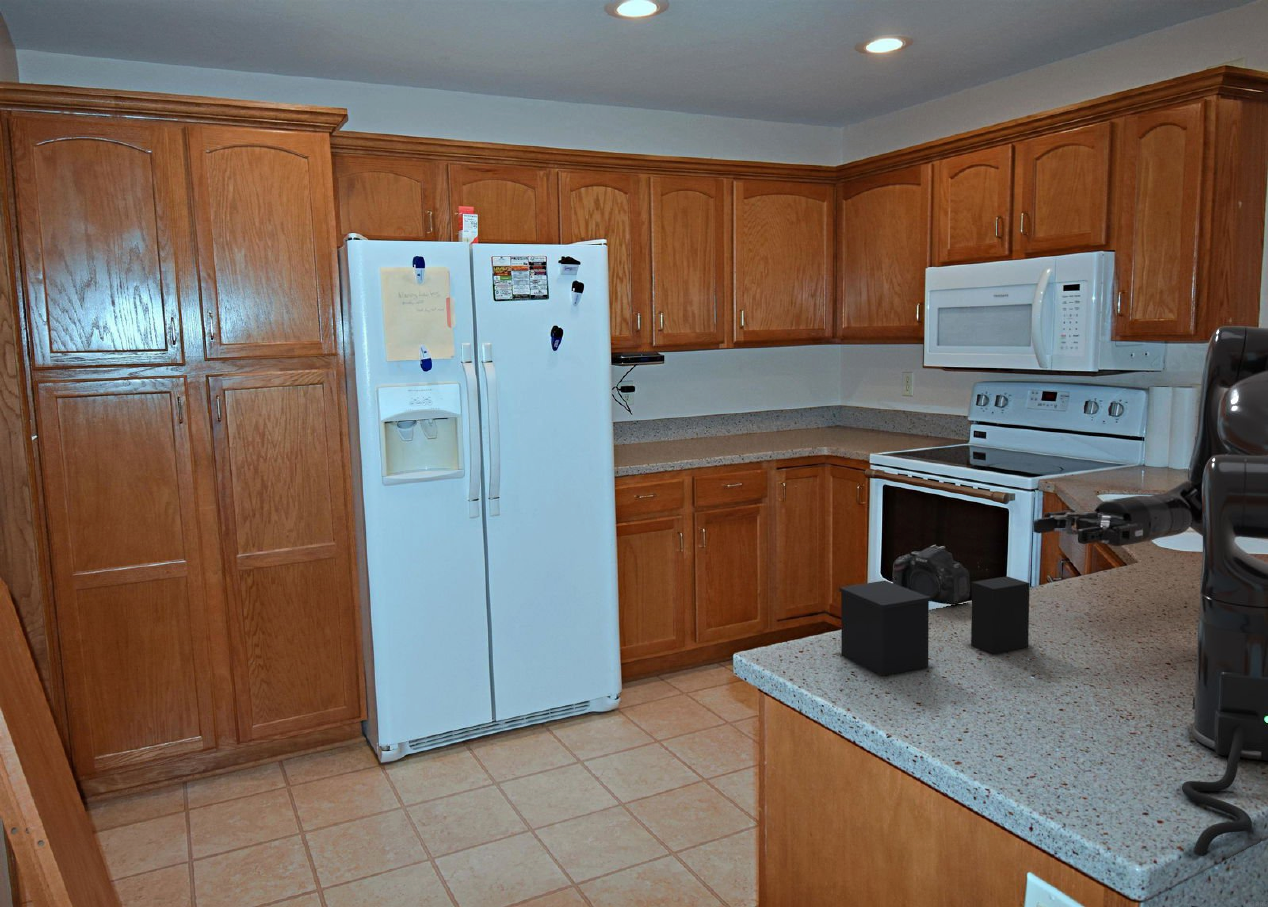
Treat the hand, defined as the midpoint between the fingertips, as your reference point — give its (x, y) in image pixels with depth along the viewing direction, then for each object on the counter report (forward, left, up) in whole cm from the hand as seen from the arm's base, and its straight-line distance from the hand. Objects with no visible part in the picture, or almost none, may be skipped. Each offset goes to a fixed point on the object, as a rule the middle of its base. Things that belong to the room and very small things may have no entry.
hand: (1057, 531), depth 138 cm
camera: (+14, +20, -17) cm, 30 cm away
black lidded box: (-20, +24, -17) cm, 35 cm away
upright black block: (-8, +8, -17) cm, 20 cm away
